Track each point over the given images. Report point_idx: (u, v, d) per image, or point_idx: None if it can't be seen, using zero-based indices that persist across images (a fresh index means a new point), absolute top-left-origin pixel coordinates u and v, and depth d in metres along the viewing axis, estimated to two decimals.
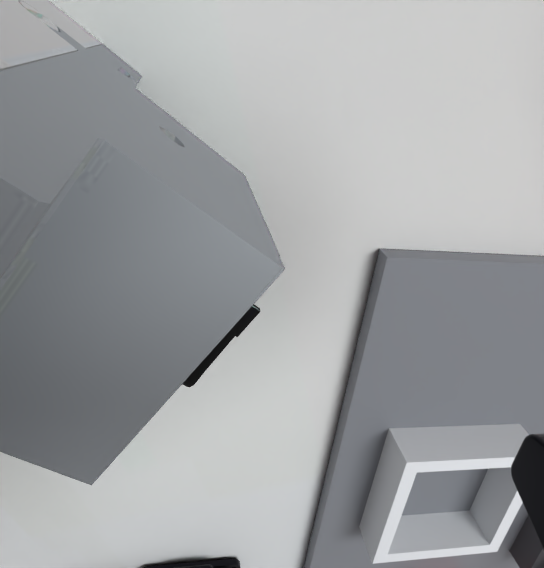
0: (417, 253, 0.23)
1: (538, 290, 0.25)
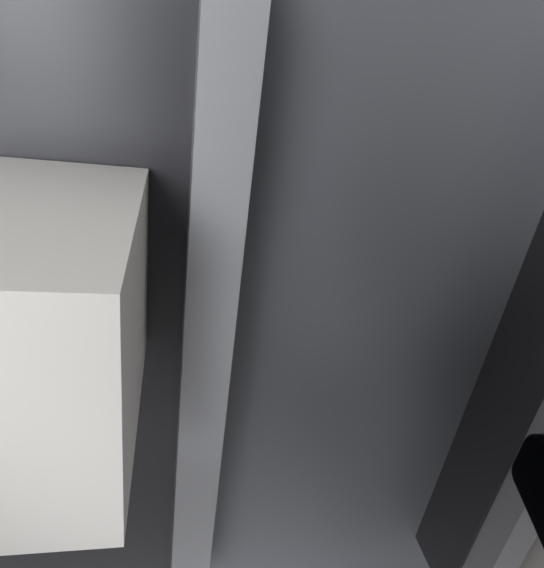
0: None
1: None
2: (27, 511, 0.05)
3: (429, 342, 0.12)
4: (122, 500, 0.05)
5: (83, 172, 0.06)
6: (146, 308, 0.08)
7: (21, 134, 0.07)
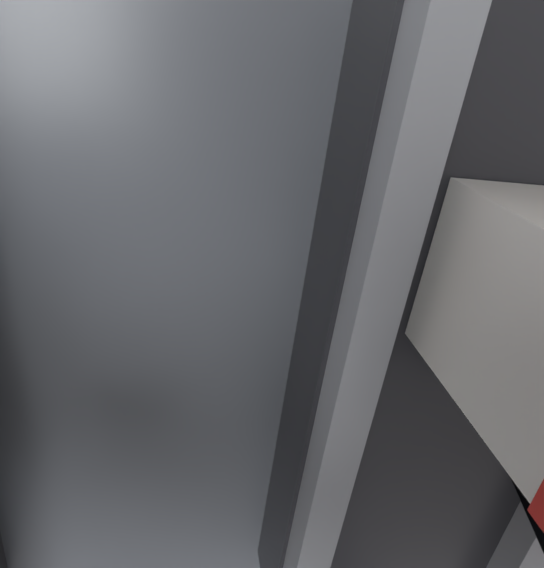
0: None
1: None
2: None
3: (219, 343, 0.11)
4: None
5: None
6: None
7: None
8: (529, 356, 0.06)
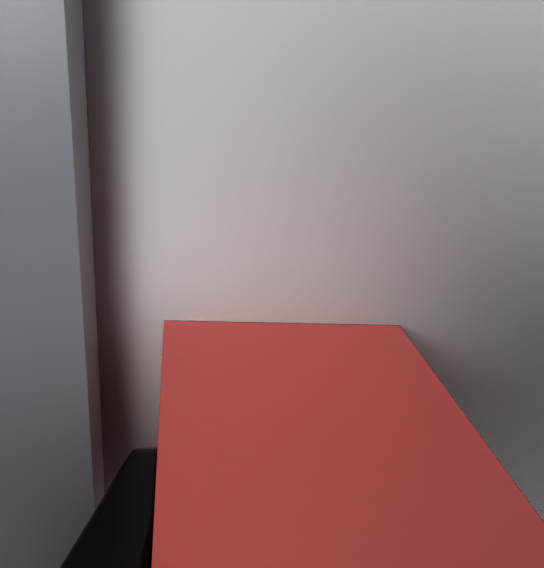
0: None
1: None
2: None
3: None
4: None
5: None
6: None
7: None
8: None
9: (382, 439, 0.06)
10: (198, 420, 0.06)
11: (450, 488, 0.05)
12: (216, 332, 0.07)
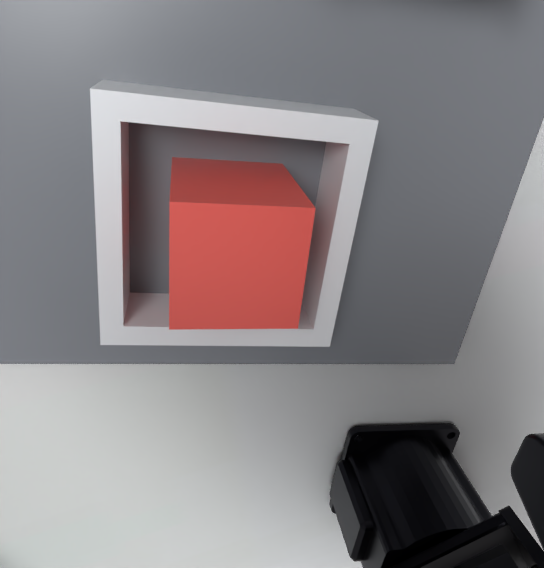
0: None
1: None
2: None
3: None
4: None
5: None
6: None
7: None
8: None
9: (255, 181, 0.15)
10: (185, 174, 0.15)
11: (275, 189, 0.15)
12: (195, 160, 0.17)
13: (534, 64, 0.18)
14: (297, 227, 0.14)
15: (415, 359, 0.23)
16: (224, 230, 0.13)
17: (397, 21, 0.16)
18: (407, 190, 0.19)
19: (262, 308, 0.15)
